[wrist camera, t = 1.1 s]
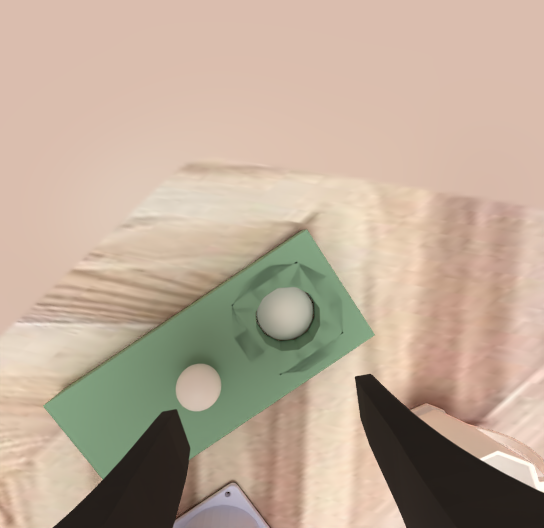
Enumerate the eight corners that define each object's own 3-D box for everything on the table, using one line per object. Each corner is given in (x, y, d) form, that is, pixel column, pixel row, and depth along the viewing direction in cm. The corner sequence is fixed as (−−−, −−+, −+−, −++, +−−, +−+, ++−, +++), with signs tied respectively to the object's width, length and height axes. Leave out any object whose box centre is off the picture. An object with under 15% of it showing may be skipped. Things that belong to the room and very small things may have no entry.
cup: (389, 390, 27) (446, 453, 19) (495, 387, 28) (593, 447, 20) (386, 463, 28) (440, 555, 20) (490, 459, 29) (583, 545, 20)
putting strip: (134, 480, 26) (123, 504, 24) (62, 390, 25) (43, 405, 23) (363, 326, 27) (374, 334, 24) (301, 230, 26) (307, 229, 23)
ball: (197, 404, 24) (188, 430, 21) (173, 372, 23) (160, 393, 20) (231, 381, 24) (228, 403, 21) (207, 348, 23) (200, 366, 20)
